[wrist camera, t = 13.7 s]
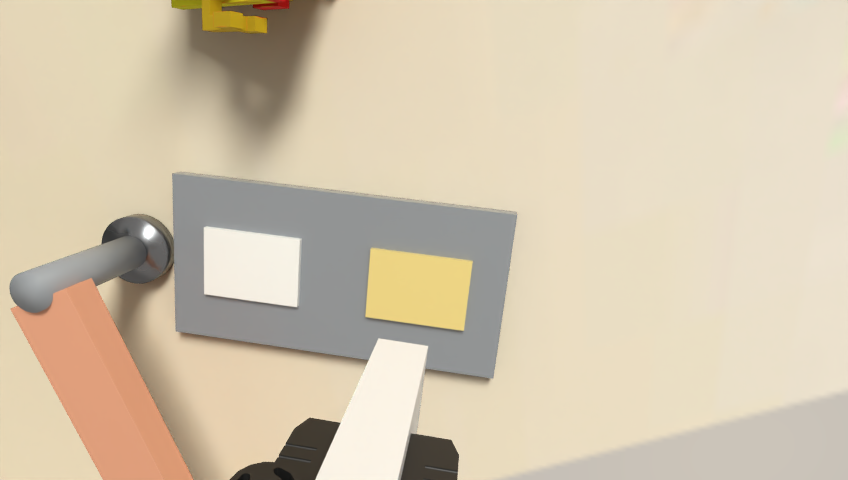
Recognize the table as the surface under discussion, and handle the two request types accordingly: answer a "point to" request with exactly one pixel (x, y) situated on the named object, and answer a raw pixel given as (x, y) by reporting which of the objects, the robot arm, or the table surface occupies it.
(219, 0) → the toy
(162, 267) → the pivot pedestal
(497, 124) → the table surface
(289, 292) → the label board
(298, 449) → the robot arm
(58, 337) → the swing arm
